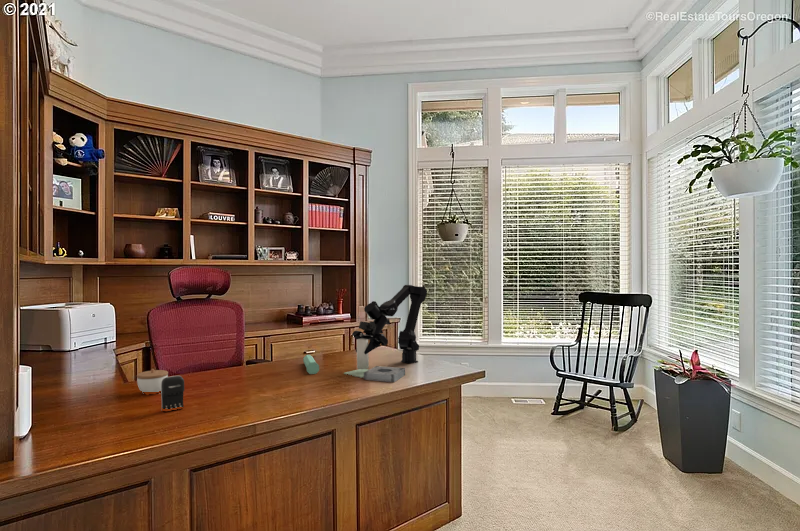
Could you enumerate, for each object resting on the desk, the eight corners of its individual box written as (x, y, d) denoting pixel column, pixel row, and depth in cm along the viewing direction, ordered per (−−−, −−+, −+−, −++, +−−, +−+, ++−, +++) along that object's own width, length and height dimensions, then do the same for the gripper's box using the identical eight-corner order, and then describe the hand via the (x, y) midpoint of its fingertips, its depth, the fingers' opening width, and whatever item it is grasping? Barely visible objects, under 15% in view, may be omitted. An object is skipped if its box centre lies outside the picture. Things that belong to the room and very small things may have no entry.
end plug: (367, 366, 216) (367, 338, 216) (369, 368, 211) (369, 340, 211) (356, 367, 215) (355, 338, 215) (358, 369, 210) (357, 340, 210)
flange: (376, 372, 215) (376, 366, 215) (405, 374, 210) (405, 368, 210) (363, 379, 201) (363, 372, 201) (394, 382, 197) (394, 375, 197)
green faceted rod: (304, 351, 237) (309, 360, 213) (315, 355, 238) (321, 364, 214) (300, 362, 236) (304, 372, 212) (311, 366, 237) (316, 376, 213)
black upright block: (163, 413, 156) (163, 379, 156) (160, 411, 159) (160, 377, 159) (185, 409, 161) (185, 376, 161) (182, 407, 164) (182, 374, 164)
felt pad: (363, 369, 221) (363, 368, 221) (381, 373, 213) (381, 372, 213) (343, 373, 213) (343, 372, 213) (362, 377, 204) (362, 376, 204)
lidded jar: (132, 393, 182) (132, 369, 182) (161, 387, 190) (161, 364, 190) (142, 398, 175) (142, 373, 175) (172, 392, 183) (172, 368, 183)
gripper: (354, 313, 222) (337, 339, 214) (383, 316, 210) (365, 344, 202) (366, 328, 228) (350, 354, 220) (395, 331, 216) (378, 359, 207)
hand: (360, 352), depth 212 cm, fingers closed on end plug, 5 cm apart
